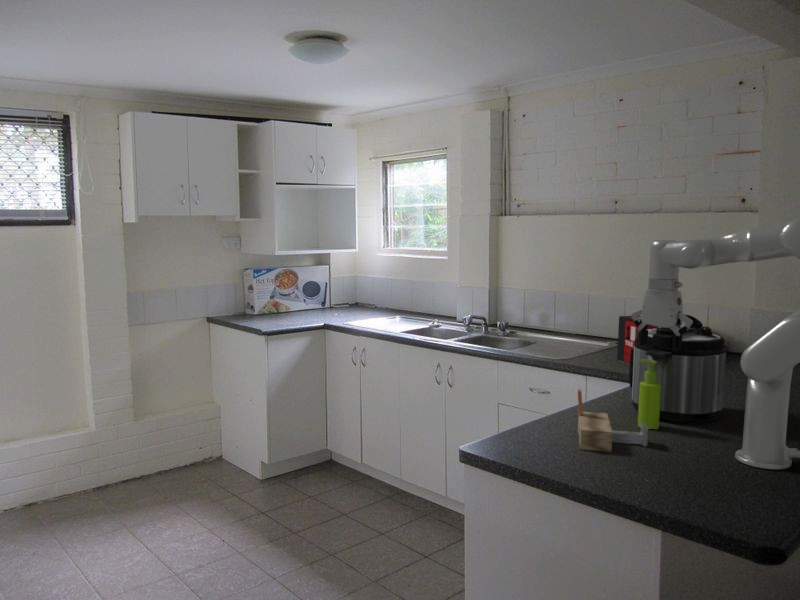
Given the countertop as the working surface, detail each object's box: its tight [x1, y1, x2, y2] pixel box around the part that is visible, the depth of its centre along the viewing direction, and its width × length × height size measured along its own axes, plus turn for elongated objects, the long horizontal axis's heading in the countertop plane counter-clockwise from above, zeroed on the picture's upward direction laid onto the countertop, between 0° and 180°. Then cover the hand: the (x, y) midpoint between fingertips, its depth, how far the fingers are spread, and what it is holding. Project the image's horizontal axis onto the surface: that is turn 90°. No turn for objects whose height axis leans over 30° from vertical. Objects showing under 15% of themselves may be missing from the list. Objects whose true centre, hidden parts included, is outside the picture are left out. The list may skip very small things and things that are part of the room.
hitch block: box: [577, 411, 613, 453], centre depth 186 cm, size 8×18×5 cm, turn 167°
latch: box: [577, 388, 584, 415], centre depth 191 cm, size 7×3×1 cm
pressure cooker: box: [628, 313, 727, 423], centre depth 212 cm, size 30×28×32 cm
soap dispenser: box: [637, 359, 661, 430], centre depth 198 cm, size 6×7×20 cm
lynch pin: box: [612, 422, 649, 447], centre depth 184 cm, size 16×5×5 cm, turn 77°
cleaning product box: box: [616, 315, 658, 363], centre depth 285 cm, size 16×9×20 cm, turn 17°
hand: (659, 347), depth 184 cm, fingers open, 9 cm apart
